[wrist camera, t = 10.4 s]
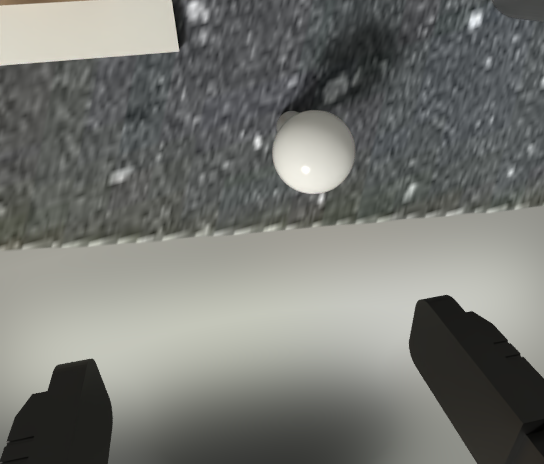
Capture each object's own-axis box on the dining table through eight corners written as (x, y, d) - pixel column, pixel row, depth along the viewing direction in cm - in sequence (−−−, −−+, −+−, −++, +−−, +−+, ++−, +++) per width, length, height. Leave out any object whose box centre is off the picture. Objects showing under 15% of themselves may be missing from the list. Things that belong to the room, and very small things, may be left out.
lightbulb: (255, 88, 37) (284, 126, 28) (324, 87, 38) (374, 122, 29) (255, 157, 40) (281, 211, 31) (318, 153, 41) (362, 204, 32)
